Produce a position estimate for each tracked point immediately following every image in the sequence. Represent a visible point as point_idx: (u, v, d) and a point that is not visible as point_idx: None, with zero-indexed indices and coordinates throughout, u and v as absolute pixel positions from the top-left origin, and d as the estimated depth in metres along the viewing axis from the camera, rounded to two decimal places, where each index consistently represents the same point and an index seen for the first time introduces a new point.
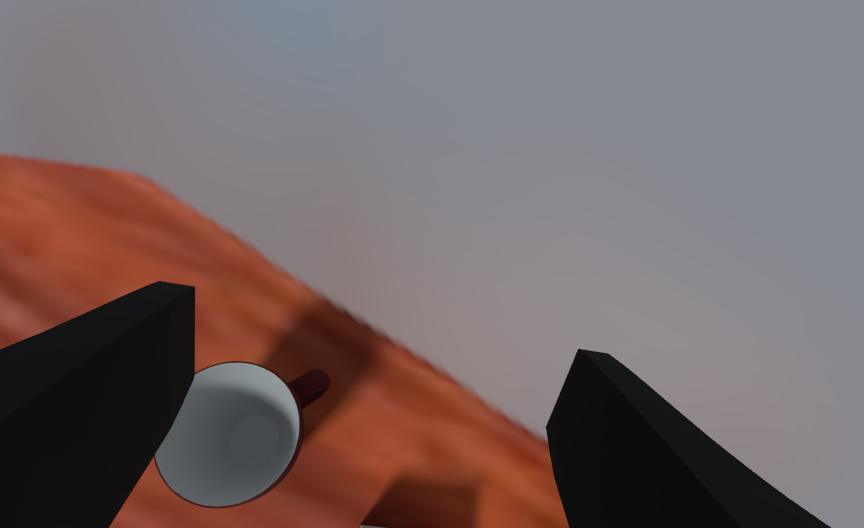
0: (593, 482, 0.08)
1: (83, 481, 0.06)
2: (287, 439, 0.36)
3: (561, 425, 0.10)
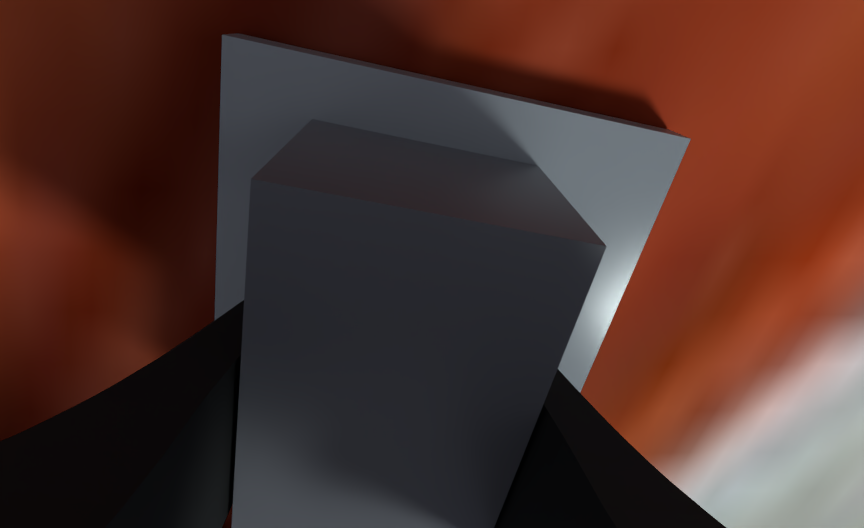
0: None
1: (207, 495, 0.06)
2: None
3: None
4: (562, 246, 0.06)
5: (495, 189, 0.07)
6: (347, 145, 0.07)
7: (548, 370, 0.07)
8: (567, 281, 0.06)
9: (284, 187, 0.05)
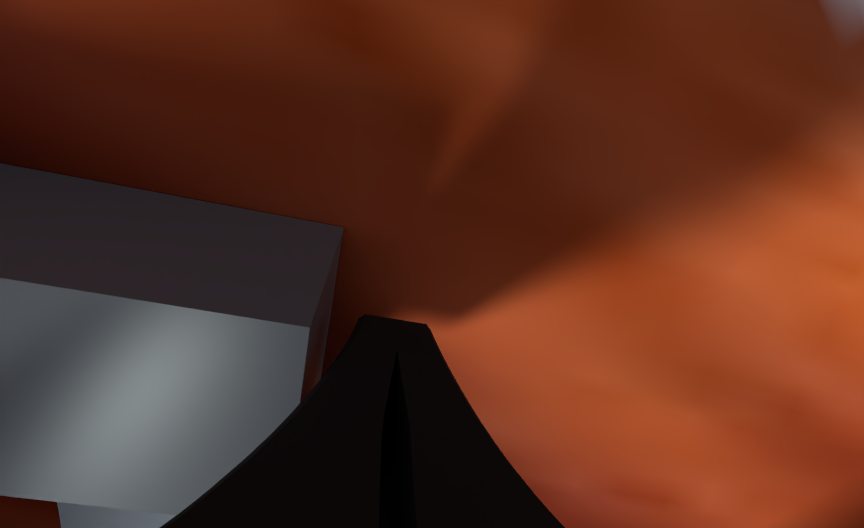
0: (381, 455, 0.08)
1: None
2: None
3: None
4: None
5: None
6: (328, 292, 0.09)
7: (167, 508, 0.08)
8: None
9: (304, 344, 0.07)
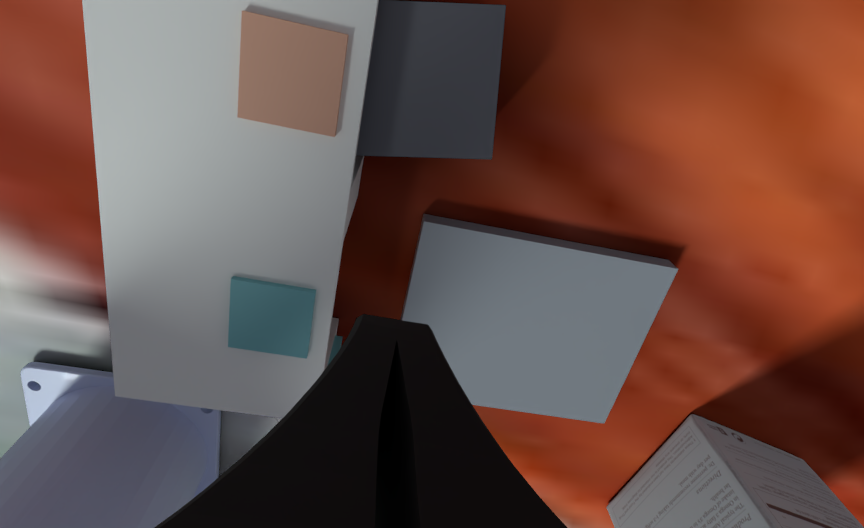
0: (383, 455, 0.08)
1: None
2: None
3: None
4: (489, 142, 0.14)
5: None
6: None
7: (428, 154, 0.14)
8: (474, 148, 0.14)
9: (502, 19, 0.13)
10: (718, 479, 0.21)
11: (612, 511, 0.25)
